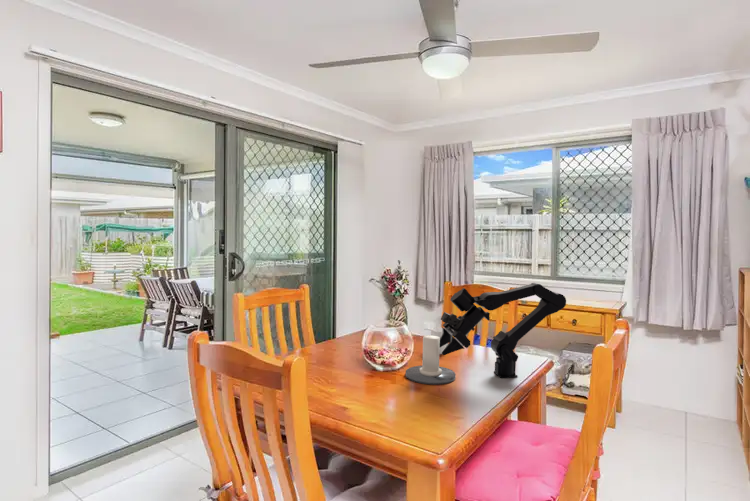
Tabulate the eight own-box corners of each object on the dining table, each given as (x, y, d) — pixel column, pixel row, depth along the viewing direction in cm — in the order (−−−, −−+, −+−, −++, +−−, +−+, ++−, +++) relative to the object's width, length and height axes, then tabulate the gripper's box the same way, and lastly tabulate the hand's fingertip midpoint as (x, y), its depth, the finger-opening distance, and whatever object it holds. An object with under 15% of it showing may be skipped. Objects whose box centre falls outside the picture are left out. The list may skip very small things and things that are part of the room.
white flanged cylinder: (443, 371, 164) (444, 336, 163) (438, 377, 157) (439, 341, 156) (422, 368, 167) (423, 334, 166) (416, 374, 160) (417, 338, 159)
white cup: (449, 354, 190) (450, 331, 189) (431, 354, 190) (431, 331, 190) (447, 349, 198) (447, 327, 197) (429, 349, 198) (429, 327, 197)
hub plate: (445, 367, 172) (445, 364, 172) (463, 383, 155) (463, 379, 155) (400, 369, 169) (400, 366, 169) (413, 386, 151) (413, 382, 151)
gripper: (448, 300, 171) (419, 329, 170) (461, 309, 152) (429, 342, 152) (467, 320, 172) (439, 349, 171) (483, 331, 153) (452, 364, 153)
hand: (439, 350), depth 162 cm, fingers open, 9 cm apart
